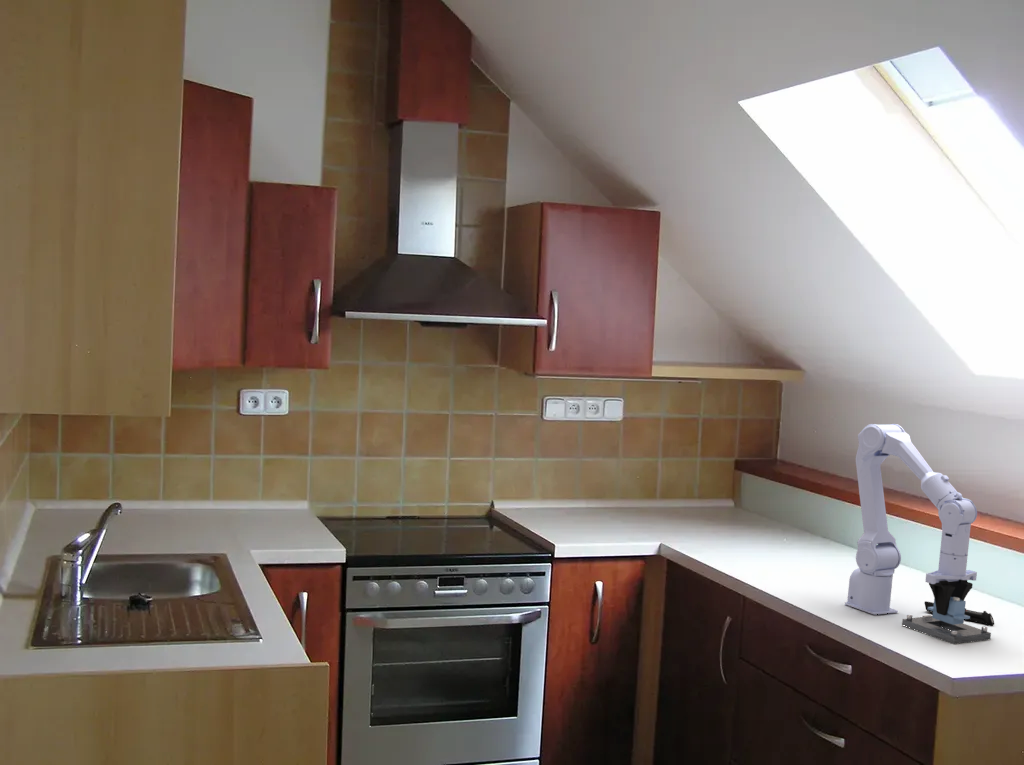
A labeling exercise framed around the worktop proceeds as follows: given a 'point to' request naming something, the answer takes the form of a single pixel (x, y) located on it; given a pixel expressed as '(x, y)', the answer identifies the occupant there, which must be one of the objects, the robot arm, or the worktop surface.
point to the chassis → (956, 635)
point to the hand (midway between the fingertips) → (947, 613)
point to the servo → (952, 612)
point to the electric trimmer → (971, 615)
